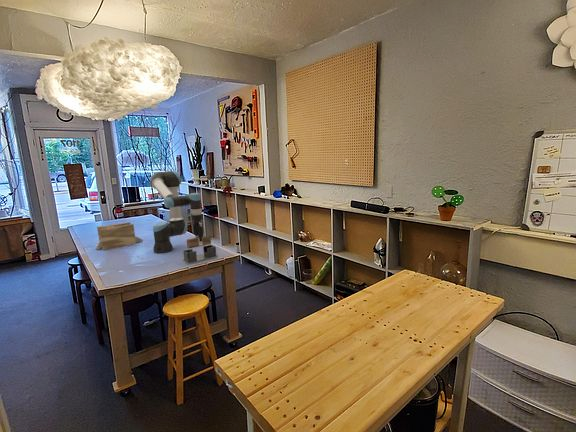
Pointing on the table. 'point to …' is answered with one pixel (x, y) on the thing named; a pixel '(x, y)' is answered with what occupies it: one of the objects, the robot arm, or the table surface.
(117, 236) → the cradle
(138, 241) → the wall bracket
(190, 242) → the rail
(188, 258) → the grey rectangular holder
